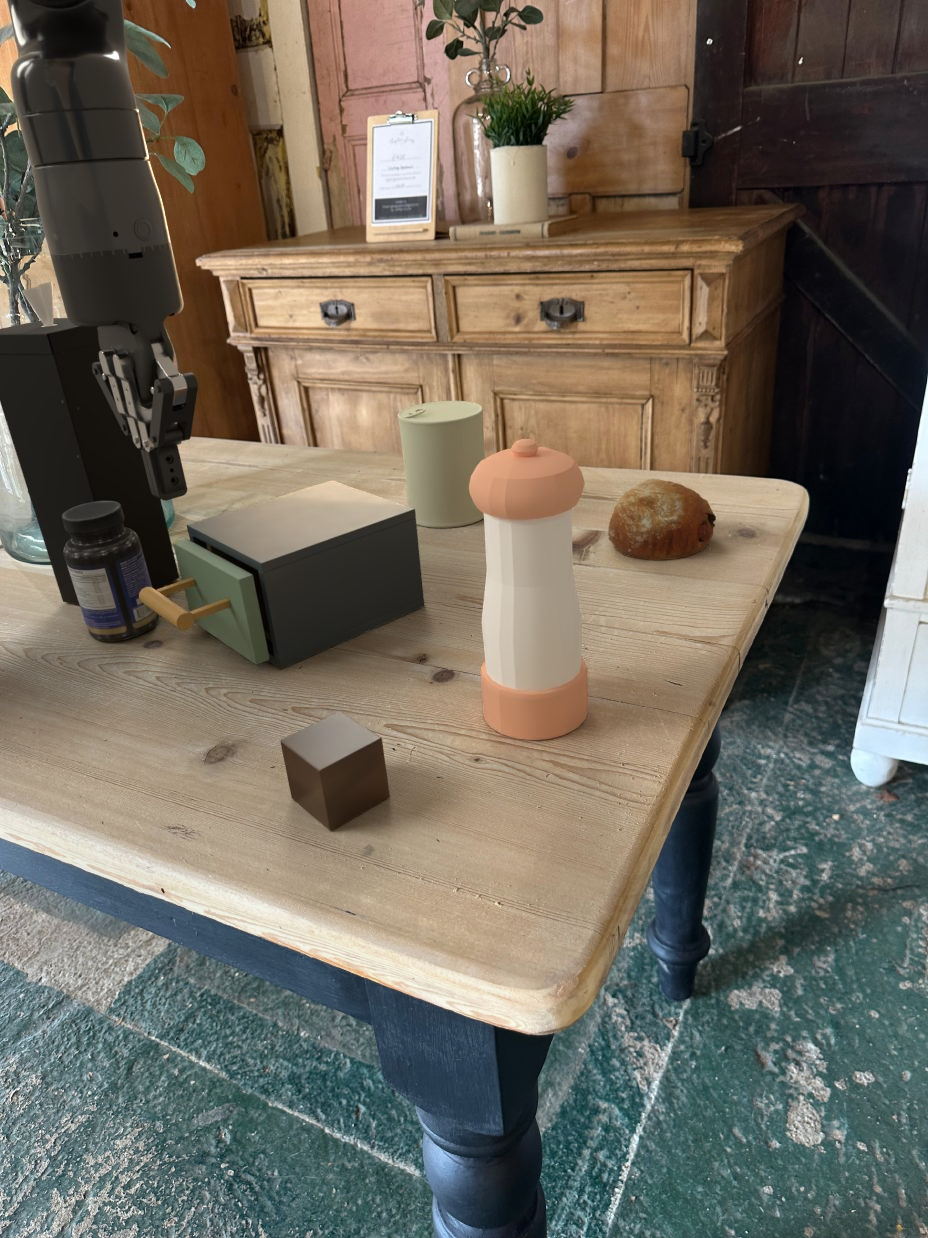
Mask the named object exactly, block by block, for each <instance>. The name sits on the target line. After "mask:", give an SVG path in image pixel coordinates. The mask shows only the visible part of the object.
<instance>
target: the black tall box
mask: <svg viewBox="0 0 928 1238" xmlns="http://www.w3.org/2000/svg"><path fill="white" fill-rule="evenodd" d="M53 288H54V287H53V281H49V282H44V283H40V284H37V285H36V286H34V287H29V288H26V289H22V290H21V293H22V294H23V297H25V299H26V300H27V303H28V304H29V305H30V307H31V308H32V310H33V311H34V313H35V314H36V316H37V317H38V319H39V320H35V321H31V322H30V321H29V322H26V323H21V324H17V325H11V326H7V327H2V328H0V406H1V410H2V412H3V416H4V419H5V422H6V425H7V429H8V432H9V436H10V438H11V441H12V444H13V447H14V451H15V454H16V456H17V460H18V463H19V466H20V470H21V473H22V476H23V479H24V482H25V485H26V489H27V492H28V495H29V499H30V502H31V504H32V508H33V511H34V514H35V517H36V521H37V524H38V528H39V531H40V533H41V537H42V539H43V543H44V546H45V549H46V553H47V555H48V559H49V563H50V565H51V569H52V571H53V575H54V577H55V581H56V584H57V587H58V591H59V593H60V597H61V600H62V602H63V603H68V604H72V605H77V606H80V604H79V601H78V598H77V595H76V592H75V589H74V585H73V582H72V579H71V576H70V573H69V570H68V567H67V563H66V560H65V558H64V547H65V545H66V543H67V542H68V541H69V539H71V536H70V534H69V533H68V532H67V531H66V530H65V527H64V523H63V520H62V515H63V513H64V512H66V511H67V510H69V509H71V508H73V507H76V506H79V505H82V504H86V503H90V502H97V501H115V502H118V503H120V505H121V507H122V510H123V514H124V516H125V518H124V519H125V520H124V522H123V524H124V527H127V528H129V529H131V530H133V531H134V532H135V533H136V534H137V536H138V537H139V540H140V544H141V547H142V551H143V555H144V559H145V562H146V566H147V570H148V574H149V577H150V581H151V585H152V588H153V589H155V590H157V589H160V588H163V587H165V586H168V585H171V583H173V582H174V581H176V580H178V579H179V578H180V572H179V568H178V564H177V562H176V561H177V560H176V556H175V554H174V553H175V552H174V548H173V543H172V541H171V536H170V532H169V528H168V525H167V524H168V523H167V520H166V516H165V511H164V508H163V507H164V506H163V504H162V500H161V499H159V498H157V497H155V496H153V495H152V493H151V490H150V486H149V482H148V478H147V474H146V470H145V466H144V462H143V458H142V454H141V449H142V448H137V447H136V445H135V444H134V442H133V437H132V435H128V436H126V435H125V434H124V432H123V431H122V429H121V426H120V424H119V422H118V421H117V419H116V417H115V415H114V413H113V411H112V409H111V407H110V405H109V403H108V401H107V399H106V397H105V395H104V393H103V391H102V389H101V387H100V385H99V383H98V381H97V379H96V377H95V375H94V373H93V371H92V364H93V363H95V362H100V359H99V352H100V351H101V349H100V346H99V339H98V329H97V327H86V326H78V325H75V324H73V323H71V322H70V321H69V320H68V318H67V317H54V289H53Z"/></svg>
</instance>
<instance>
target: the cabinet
mask: <svg viewBox="0 0 928 1238" xmlns="http://www.w3.org/2000/svg"><path fill="white" fill-rule="evenodd" d="M186 529H187V533H188V538H189V540H190V541H191V542H193V543H195V544H197V545H199V546H201V547H203V548H204V549H206V550H207V545H206V543H207V544H209V545H211V546H213V547H215V548H217V549H219V550H221V551H222V552H224V553H226V554H228V555H230V556H232V557H234V558H236V559H238V560H239V561H241V562H243V563H245V564H247V565H249V566H251V567H253V568H255V569H256V570H258V574H259V579H260V584H261V589H262V594H263V599H264V604H265V609H266V615H267V620H268V625H269V630H270V635H271V640H272V642H271V641H270V640H268V639H266V638H265V639H266V644H267V649H268V654H269V660H267V661H268V662H269V663H270V664H272V665H274V666H276V667H277V668H279V669H281V670H283V669H285V668H288V667H290V666H292V665H294V664H296V663H299V662H301V661H303V660H306V659H308V658H310V657H313V656H316V655H317V654H320V653H322V652H324V651H326V650H328V649H331V648H333V647H336V646H337V645H340V644H343V643H345V642H347V641H350V640H352V639H354V638H356V637H359V636H361V635H363V634H365V633H367V632H370V631H372V630H374V629H376V628H379V627H381V626H384V625H385V624H388V623H390V622H392V621H395V620H397V619H399V618H401V617H404V616H406V615H408V614H411V613H413V612H415V611H418V610H420V609H422V608H424V607H425V606H426V603H425V595H424V594H425V593H424V585H423V575H422V574H423V573H422V566H421V565H422V564H421V555H420V545H419V535H418V525H417V524H416V513H415V509H414V508H411V507H408V505H405V504H402V503H399V502H396V501H394V500H390V499H387V498H384V497H381V496H378V495H376V494H373V493H371V492H368V491H364V490H361V489H358V488H356V487H352V486H349V485H346V484H344V483H341V482H338V481H335V480H332V479H331V480H327V481H324V482H321V483H319V484H314V485H310V486H308V487H303V488H301V489H298V490H295V491H292V492H289V493H285V494H282V495H279V496H276V497H273V498H269V499H266V500H262V501H259V502H256V503H252V504H249V505H246V506H243V507H240V508H237V509H233V510H230V511H226V512H223V513H220V514H217V515H213V516H210V517H207V518H204V519H201V520H196V521H195V522H191V523H187V524H186Z"/></svg>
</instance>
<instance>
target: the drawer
mask: <svg viewBox="0 0 928 1238" xmlns="http://www.w3.org/2000/svg"><path fill="white" fill-rule="evenodd" d="M206 545H207V550H206V549H204V548H203V547H201V546H199V545H197V544H195V543H193V542H191V541H190V539H188V538H183V539H180V540H177V541H176V540H175V541H174V542H173V541H172V547H173V551H174V553H175V554H174V555H175V559H176V561H177V562H176V563H177V567H178V571H179V576H180V578H181V580H180V581H178V582H175V583H172V584H171V583H170V584H168V585H166V586H165V587H163V588H160V589H157V590H155V589H153V588H152V587H145V588H143V589H142V590H141V591H140V593H139V599H140V601H141V602H142V603H144V604H145V605H146V606H148V607H149V608H151V609H152V610H153V611H155V612H156V613H158V614H159V617H162V618H163V619H164V620H165V621H167V622H169V623H170V624H172V625H173V626H174V627H176V628H177V629H178V630H181V631H188V630H190V629H191V628H192V627H193V625H194V623H195V625H197V626H198V627H200V628H202V629H203V630H205V631H206V632H208V633H209V634H211V636H214V638H216V639H217V640H219V641H220V642H222V643H223V644H225V645H226V646H228V647H230V649H232V650H234V651H235V652H237V653H238V654H240V655H241V656H243V657H244V658H246V659H247V660H249V661H250V662H251V663H253V664H254V665H256V666H257V665H260V664H262V663H264V662H266V661H268V660H269V654H268V649H267V644H266V639H268V640H270V641H271V642H272V640H271V635H270V630H269V625H268V620H267V615H266V609H265V604H264V599H263V594H262V589H261V584H260V579H259V574H258V570H256V569H255V568H253V567H251V566H249V565H247V564H245V563H243V562H241V561H239V560H238V559H236V558H234V557H232V556H230V555H228V554H226V553H224V552H222V551H221V550H219V549H217V548H215V547H213V546H211V545H209V544H207V543H206ZM181 591H184V595H185V599H186V603H187V608H188V610H186V609H185V608H183V607H181V605H179V604H177V603H176V602H175V601H173V600H171V599H170V598H168V597H167V596H171V595H173V594H176V593H179V592H181ZM265 638H266V639H265Z"/></svg>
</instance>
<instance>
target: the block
mask: <svg viewBox="0 0 928 1238" xmlns="http://www.w3.org/2000/svg"><path fill="white" fill-rule="evenodd" d="M279 742H280V747H281V752H282V758H283V762H284V768H285V772H286V776H287V777H286V778H287V782H288V787H289V792H290V797H291V799H292V801H294V802H296V804H297V805H299V806H300V807H301V808H303V809H304V810H305V811H306V812H307V813H308V814H309V815H311V816H312V817H313V818H314V819H315V820H317V821H318V822H319V823H320V824H321V825H323V826H324V827H325V828H326V829H327V830H328V831H330V832H332V831H334V830H335V829H337V828H339V827H340V826H343V825H344V824H346V823H348V822H349V821H351V820H353V819H354V818H356V817H358V816H360V815H361V814H363V813H365V812H366V811H368V810H370V809H372V808H373V807H375V806H377V805H378V804H380V803H382V802H384V801H386V800H387V799H389V798H390V797H391V794H390V787H389V780H388V772H387V766H386V765H387V764H386V757H385V751H384V743H383V738H382V737H381V736H379V735H378V734H377V733H375V732H374V731H372V730H371V729H369V728H367V727H366V726H365V725H363V724H362V723H360V722H359V721H357V720H356V719H354V718H353V717H351V716H349V715H348V714H347V713H345V712H344V711H342V710H338V711H337V712H335V713H332V714H330V715H328V716H326V717H324V718H322V719H320V720H318V721H316V722H314V723H312V724H310V725H308V726H305V727H304V728H302V729H300V730H298V731H296V732H294V733H292V734H290V735H288V736H286V737H284V738H281V739H280V741H279Z"/></svg>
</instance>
